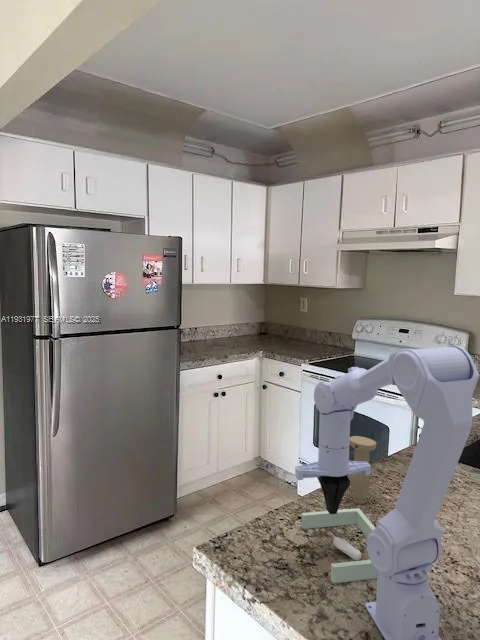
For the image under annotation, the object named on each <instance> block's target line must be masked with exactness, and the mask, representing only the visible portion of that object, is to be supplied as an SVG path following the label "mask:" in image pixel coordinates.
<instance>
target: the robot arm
mask: <svg viewBox="0 0 480 640" xmlns="http://www.w3.org/2000/svg"><path fill="white" fill-rule="evenodd" d="M479 379H480V373H479V371H478V367H476V364H475V362H474V360H473V358H472V356H471V354H470V353H469V352H468V351H467V349H465V348H463V347H461V346H459V345H447V346H445V347H443V346H442V347H441V346H440V347H427V348H403V349H400V350H398V352H392V353H390V354H389V357H387V358H385V359H383V361H381V362H379V363H377V364H376V365H374V366H372V367H371V368H369V369H366V368H363V367H359V366H352V367H350V368H348V369H347V373H345V374H343V375H336V376H334V380H332V381H326V382H325V381H319V382H318V383H317V384H316V386H315V387H314V390H313V392H314V393H313V401H314V404H315V407H316V409H317V410H318V412H319V422H318V423H319V427H318V429H319V430H318V458H317V459H318V460H317V461H314V462H311V463H307V464H301V465H296V466H294V468H295V469H294V473H295V474H294V476H295V478H296V479H297V481H303V480H304V479H309V478H317V480H318V482H319V484H320V487H321V490H322V494H323V497H324V501H325V508H326V511H328V512H329V513H330V514H337V511H338V510H339V507H340V504H341V501H342V499H343V496H344V495H345V493H346V492H347V490H348V488H350V485H351V480H350V478H349V476H352V475H355V474H365V475H369V476H371V469H372V468H371V467H372V465H371V463H369V464H368V463H367V462H358V461H354V460H350V445H349V441H350V437H351V436H350V435H351V421H352V420H353V419H354V412H355V411H356V409H357V407H358V406H359V405H361V404H364V403H366V402H370V401H371V400H373V399H374V398H375V397H376V395H377V394H378V390H379V389H381V388H384V387H388V386H389V385H392V386H396V387H397V389H398V391H399V392H400V394H401V396H402V398H403V399H404V400H405V402H406V403H407V405H408V406H409V408H410V410H411V411H412V413H413V414H414V416H415V417H417V418H419V419H420V420H422V421H423V425H422V429H421V431H420V434H419V437H418V440H417V443H416V445H415V448H414V451H413V454H412V457H411V460H410V463H409V466H408V469H407V471H406V475H405V478H404V480H403V483H402V485H401V489H400V492H399V494H398V497H397V501H396V504H395V506H394V508H392V509H391V511H389V512H388V513H386V515H384V516H383V517H382V518H381V519H379V520H378V521H377V523H376V526H375V529H374V530H372V531H371V532H370V533H369V535H368V538H366V547H367V548H366V551H367V554H368V557H369V560H371V562H372V564H373V565H374V567H375V568H376V569H377V570H378V575H377V578H376V579H377V580H376V600H375V601H373V602H372V601H371V602H366V603H365V604H364V605H365V609H366V610H367V612H368V613H369V615H370V617H371V618H372V620H373V623H375V625H376V627H377V628H378V630H379V632H380V634H381V636H382V637H383V638H384V640H442V638H441V636H439V630H440V616H441V615H440V614H441V609H440V608H441V607H440V603H439V600H438V599H437V598H436V596H435V595H434V593H433V591H432V588H431V586H430V582H429V573H430V572H432V567H433V564H434V563H437V562H438V561H440V558H441V556H442V538H443V535H444V530H443V528H442V527H441V525H440V523H439V522H438V520H437V516H438V514H439V511H440V509H441V505H442V503H443V501H444V498H445V496H446V493H447V491H448V488H449V487H450V483H451V480H452V478H453V476H454V473H455V470H456V469H457V466H458V463H459V461H460V458H461V455H462V454H463V451H464V447H465V446H466V443H467V441H468V438H469V435H470V433H471V431H472V426H473V394H474V391H475V388H476V386H477V384H478V382H479Z"/></svg>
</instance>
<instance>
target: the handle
mask: <svg viewBox="0 0 480 640" xmlns="http://www.w3.org/2000/svg"><path fill="white" fill-rule="evenodd" d="M349 447H351V448H353V451H354V455H353V456H354V457H353V461H358V462H367V463H368V464H370V453H371V452H373V451H374V450H376V449H377V441H375V440H374V439H372V438H369V437H365V436H359V435H353V436H350V441H349ZM351 478H352V479H351V487H352V488H351V491H352V501H354V503H355V504H360V505H365V504H367V502H368V495H369V490H370V475H365V474H355V475H351Z"/></svg>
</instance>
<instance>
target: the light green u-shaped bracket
mask: <svg viewBox="0 0 480 640" xmlns="http://www.w3.org/2000/svg"><path fill="white" fill-rule="evenodd" d="M350 525H356V527H358V528H359V530H360V532H362V534H363V536H365V538H366V539H367V538H368V535H369V533H370V532H371V531H372V530H374V529H375V528H376V526H375V525H374V524H373V523H372V522H371V520H370V519H369V517H367V516H366V515H365V514H364V513H363V511H362V510H361V509H360V508H359V507H358V508H349V509H348V508H347V509H344V508H343V509H338V511H337V514H330V513H329V512H328V511H327V510H322V511H311V512H301V526H300V527H301V528H302V529H303V530H307V529H315V528H316V529H318V528H327V527H328V528H330V527H340V526H350ZM330 566H331V567H330V581H331V583H332V584H340V583H341V584H342V583H348V582H357V581H366V580H367V581H368V580H375V579H377V575H378V570H377V569H376V568H375V567H374V565H373V564H372V562H371V560H370V559H365V560H364V559H362V560H358V561H356V560H353V561H343V562H336V563H331V565H330Z"/></svg>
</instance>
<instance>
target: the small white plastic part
mask: <svg viewBox="0 0 480 640" xmlns="http://www.w3.org/2000/svg"><path fill="white" fill-rule="evenodd" d="M332 544H333V545H334V547H335V548H336V549H339V551H341V552H343V553H344V554H345V555H347V556H348V557H350V558H352V559H353V561H360V560H361V559H362V560H363V558H362V553H361V551H360V550H359V549H357V548H356V547H354V546H353V545H352V544H350V543H349V542H348V541H347V540H346V539H345V538H341V537H339V536H336V537H335V538H334V539H333V542H332Z"/></svg>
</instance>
